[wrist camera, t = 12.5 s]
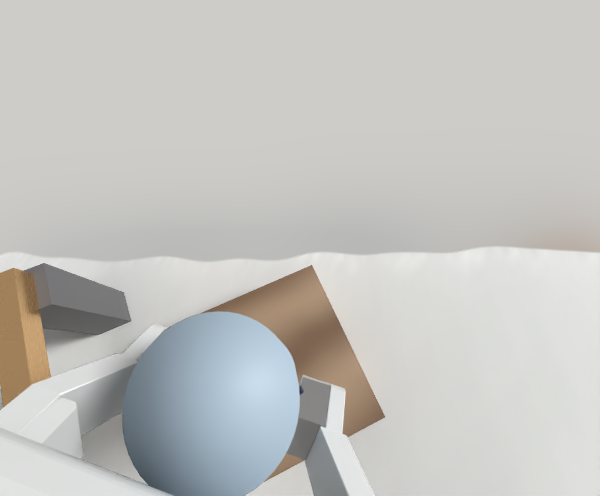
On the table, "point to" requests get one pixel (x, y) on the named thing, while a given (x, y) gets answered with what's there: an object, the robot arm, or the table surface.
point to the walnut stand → (311, 343)
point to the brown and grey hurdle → (77, 302)
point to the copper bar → (20, 335)
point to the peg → (211, 406)
